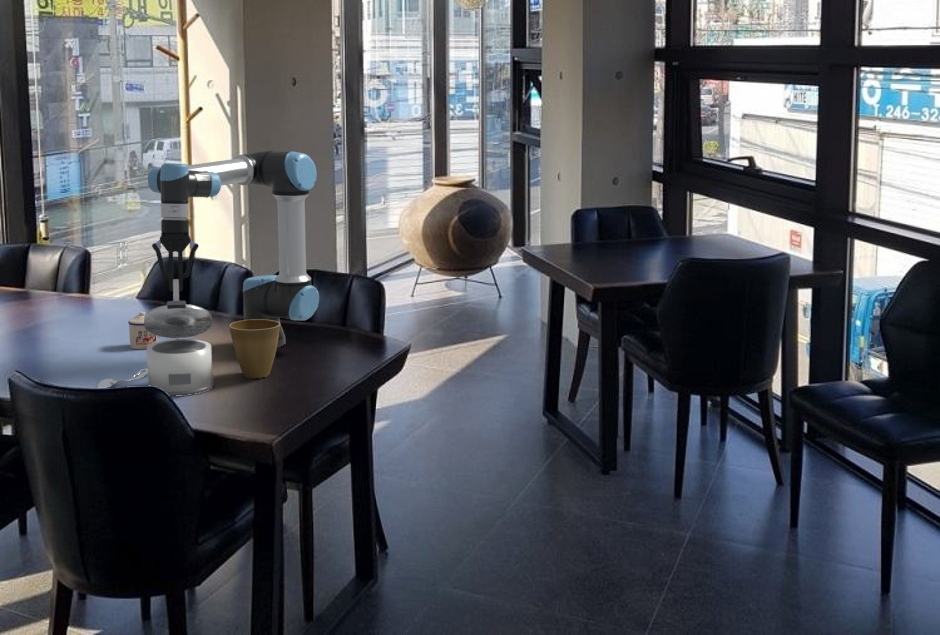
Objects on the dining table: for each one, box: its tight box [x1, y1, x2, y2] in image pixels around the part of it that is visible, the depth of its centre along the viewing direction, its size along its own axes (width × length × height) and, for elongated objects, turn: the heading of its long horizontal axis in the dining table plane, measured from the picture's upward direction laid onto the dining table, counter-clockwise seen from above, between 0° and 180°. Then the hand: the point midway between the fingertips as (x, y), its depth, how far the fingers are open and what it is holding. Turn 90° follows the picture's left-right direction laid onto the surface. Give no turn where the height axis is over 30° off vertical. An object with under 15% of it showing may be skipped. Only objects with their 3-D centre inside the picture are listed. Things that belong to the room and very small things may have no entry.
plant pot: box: [229, 319, 281, 379], centre depth 330 cm, size 15×15×16 cm
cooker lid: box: [144, 300, 213, 339], centre depth 316 cm, size 19×21×2 cm
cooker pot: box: [146, 338, 215, 397], centre depth 318 cm, size 19×19×12 cm
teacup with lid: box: [128, 311, 162, 351], centre depth 362 cm, size 12×9×12 cm
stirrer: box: [97, 367, 148, 388], centre depth 323 cm, size 20×4×5 cm
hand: (176, 302), depth 311 cm, fingers closed
